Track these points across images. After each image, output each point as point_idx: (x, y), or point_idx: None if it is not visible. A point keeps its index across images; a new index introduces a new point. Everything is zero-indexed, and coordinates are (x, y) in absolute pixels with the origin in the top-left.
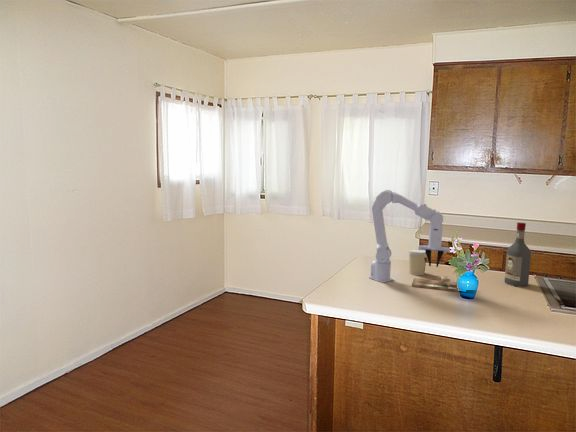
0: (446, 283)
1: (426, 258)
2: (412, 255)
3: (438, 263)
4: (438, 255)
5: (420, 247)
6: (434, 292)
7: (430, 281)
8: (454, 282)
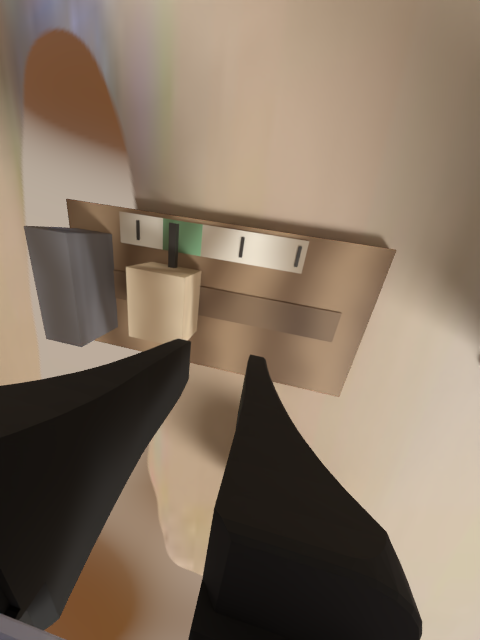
0: (164, 266)
1: None
2: None
3: (150, 349)
4: (33, 408)
5: None
6: (252, 138)
7: (253, 344)
8: (134, 348)
